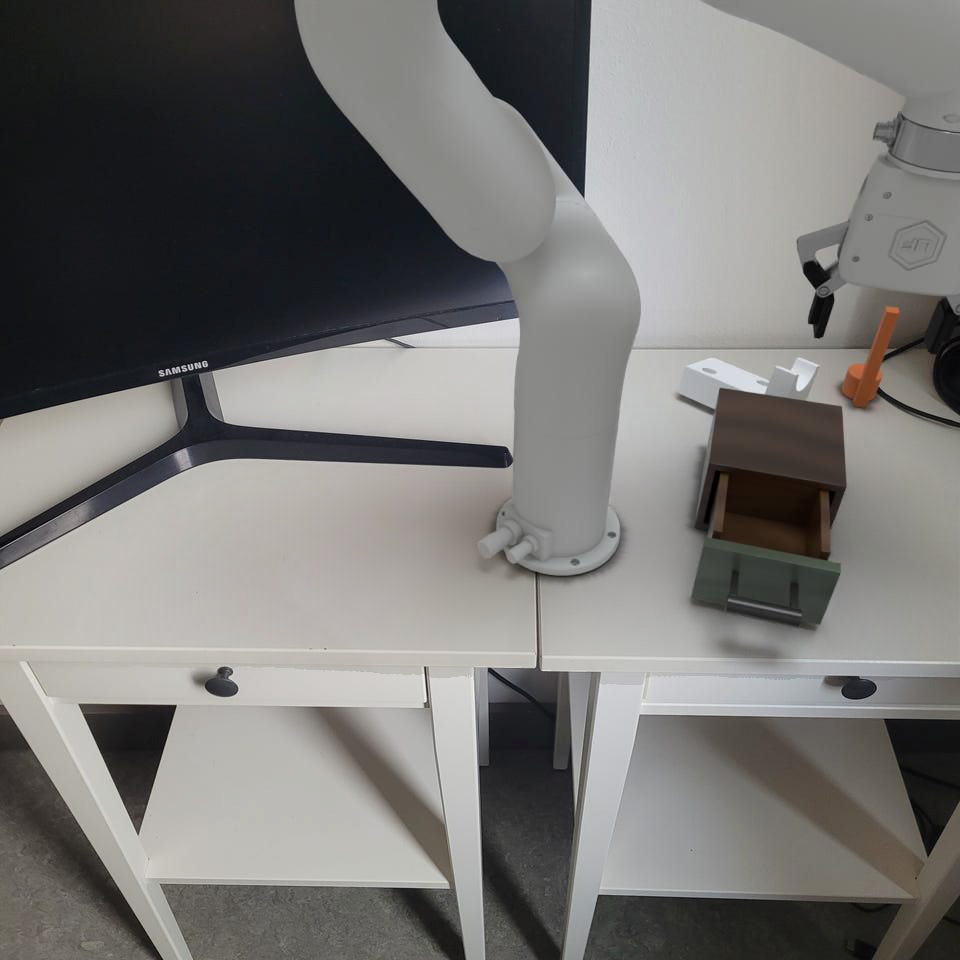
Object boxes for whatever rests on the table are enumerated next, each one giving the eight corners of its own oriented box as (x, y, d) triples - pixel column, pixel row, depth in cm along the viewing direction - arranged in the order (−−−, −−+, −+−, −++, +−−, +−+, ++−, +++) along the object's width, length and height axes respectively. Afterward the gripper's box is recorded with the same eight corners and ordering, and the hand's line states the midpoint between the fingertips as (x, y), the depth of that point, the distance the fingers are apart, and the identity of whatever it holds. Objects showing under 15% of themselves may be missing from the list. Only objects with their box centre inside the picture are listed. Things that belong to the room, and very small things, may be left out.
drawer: (820, 665, 70) (843, 613, 65) (685, 635, 72) (698, 583, 68) (818, 532, 82) (837, 480, 78) (703, 510, 85) (714, 459, 80)
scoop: (876, 409, 100) (912, 314, 91) (842, 404, 101) (874, 310, 92) (874, 386, 104) (907, 293, 95) (840, 381, 105) (871, 288, 96)
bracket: (797, 422, 99) (820, 365, 96) (772, 435, 94) (796, 375, 91) (704, 382, 106) (722, 327, 103) (677, 392, 101) (695, 334, 98)
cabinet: (822, 552, 81) (847, 486, 76) (694, 527, 84) (708, 462, 79) (820, 469, 91) (842, 405, 86) (706, 449, 94) (719, 387, 88)
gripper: (829, 148, 62) (774, 345, 73) (1082, 172, 58) (984, 375, 69) (824, 119, 67) (773, 307, 78) (1055, 140, 64) (968, 332, 75)
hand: (872, 339), depth 74 cm, fingers open, 9 cm apart
